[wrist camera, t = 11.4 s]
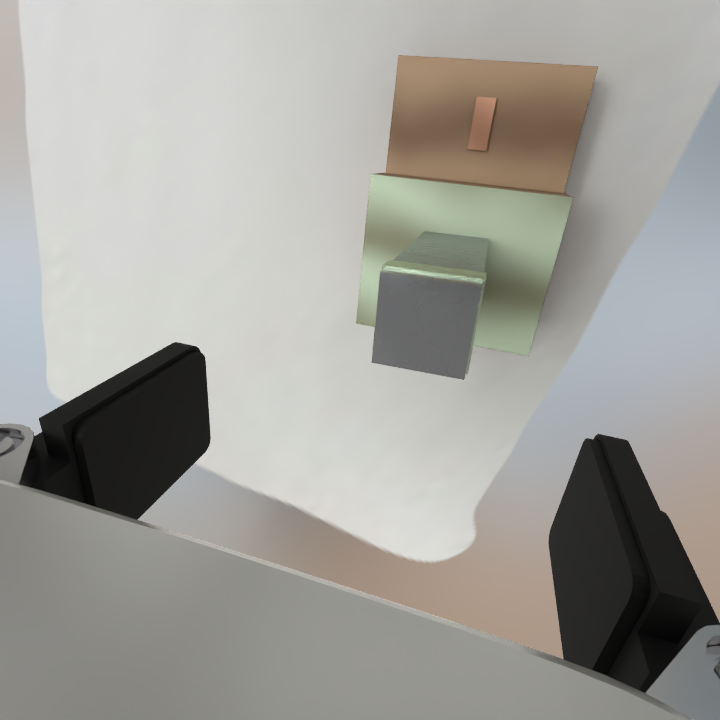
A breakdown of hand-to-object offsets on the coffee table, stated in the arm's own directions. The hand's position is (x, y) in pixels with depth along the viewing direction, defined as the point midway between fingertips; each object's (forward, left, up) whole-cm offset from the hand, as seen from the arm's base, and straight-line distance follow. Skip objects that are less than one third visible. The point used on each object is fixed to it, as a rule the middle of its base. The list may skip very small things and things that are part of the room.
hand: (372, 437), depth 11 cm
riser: (-3, 0, -28) cm, 28 cm away
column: (0, 0, -20) cm, 20 cm away
